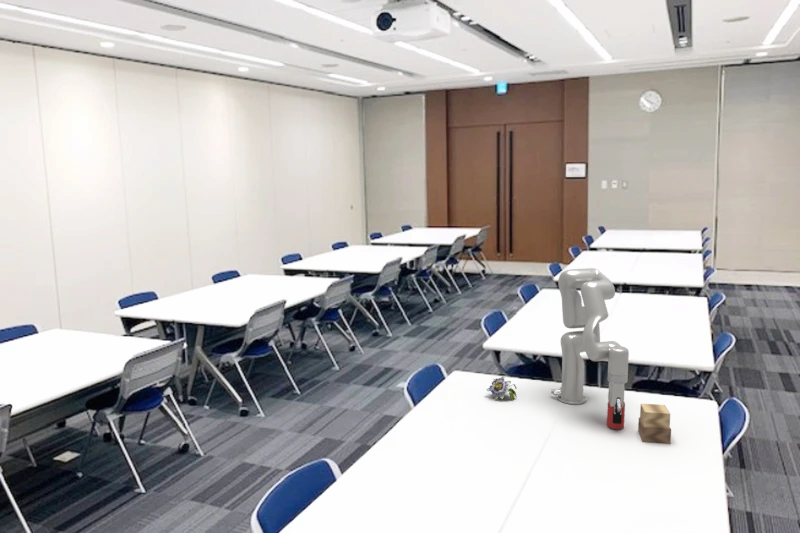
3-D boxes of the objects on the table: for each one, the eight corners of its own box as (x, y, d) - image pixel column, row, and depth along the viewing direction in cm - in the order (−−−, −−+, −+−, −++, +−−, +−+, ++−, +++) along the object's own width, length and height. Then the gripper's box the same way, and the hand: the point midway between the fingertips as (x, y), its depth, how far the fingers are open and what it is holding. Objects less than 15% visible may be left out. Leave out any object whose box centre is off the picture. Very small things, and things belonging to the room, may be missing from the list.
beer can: (620, 423, 255) (621, 395, 254) (626, 430, 249) (627, 401, 247) (604, 423, 255) (605, 395, 253) (610, 430, 249) (611, 401, 247)
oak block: (644, 427, 237) (645, 412, 237) (639, 418, 246) (640, 403, 245) (669, 428, 236) (670, 413, 235) (664, 419, 244) (664, 405, 244)
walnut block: (642, 442, 238) (643, 427, 237) (638, 431, 248) (638, 417, 247) (670, 444, 236) (671, 429, 235) (664, 433, 246) (665, 419, 245)
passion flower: (496, 411, 284) (481, 389, 284) (505, 399, 293) (490, 378, 293) (515, 402, 277) (499, 380, 278) (523, 390, 286) (508, 369, 286)
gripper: (605, 369, 258) (603, 411, 261) (610, 383, 241) (608, 427, 244) (624, 370, 256) (622, 412, 259) (630, 385, 240) (628, 429, 242)
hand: (615, 419), depth 252 cm, fingers closed on beer can, 6 cm apart
